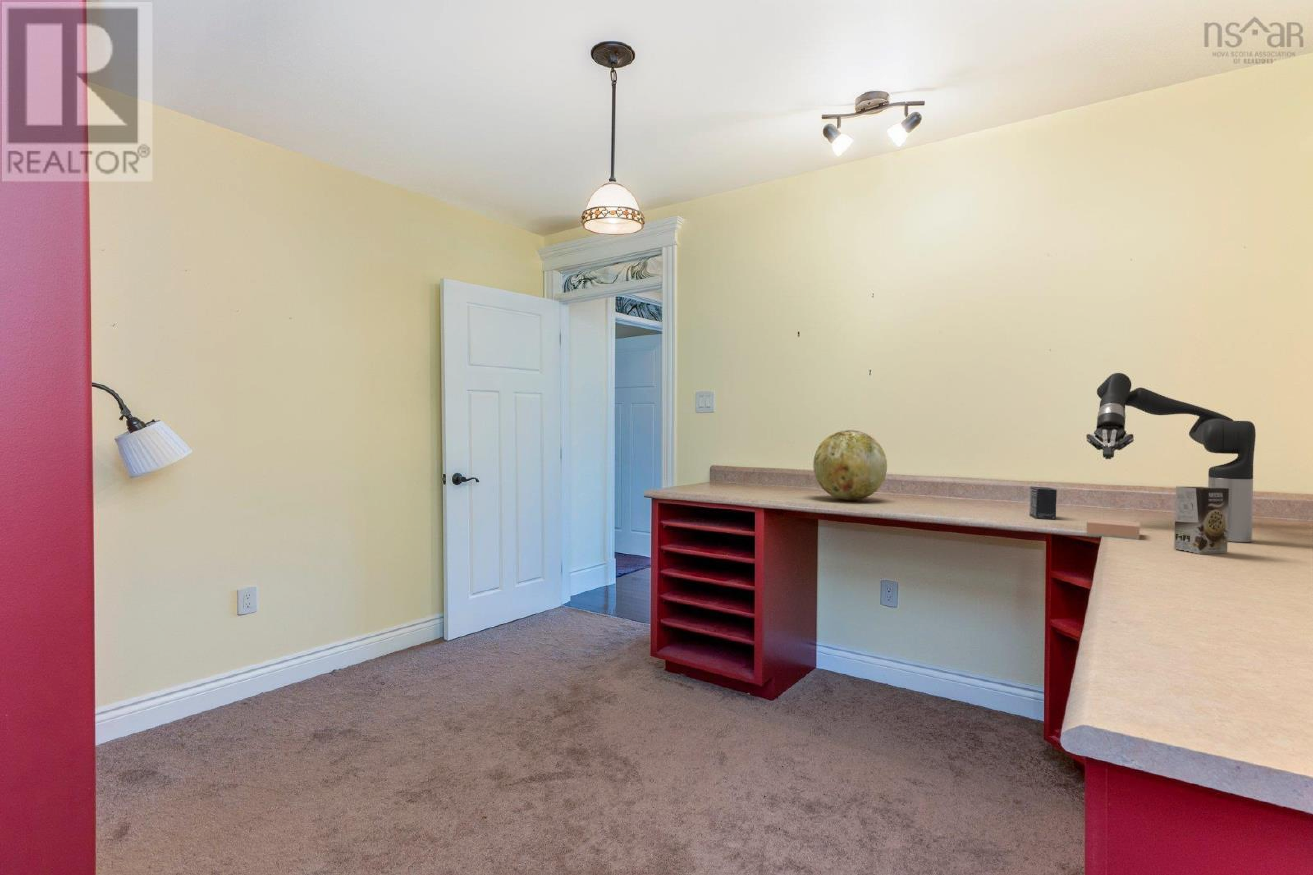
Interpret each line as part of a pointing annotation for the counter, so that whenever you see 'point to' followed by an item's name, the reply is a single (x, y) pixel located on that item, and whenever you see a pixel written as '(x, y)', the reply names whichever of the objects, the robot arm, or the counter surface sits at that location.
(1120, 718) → the counter surface
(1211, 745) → the counter surface
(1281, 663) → the counter surface
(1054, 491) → the small box
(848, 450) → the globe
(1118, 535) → the tile
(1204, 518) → the coffee box
